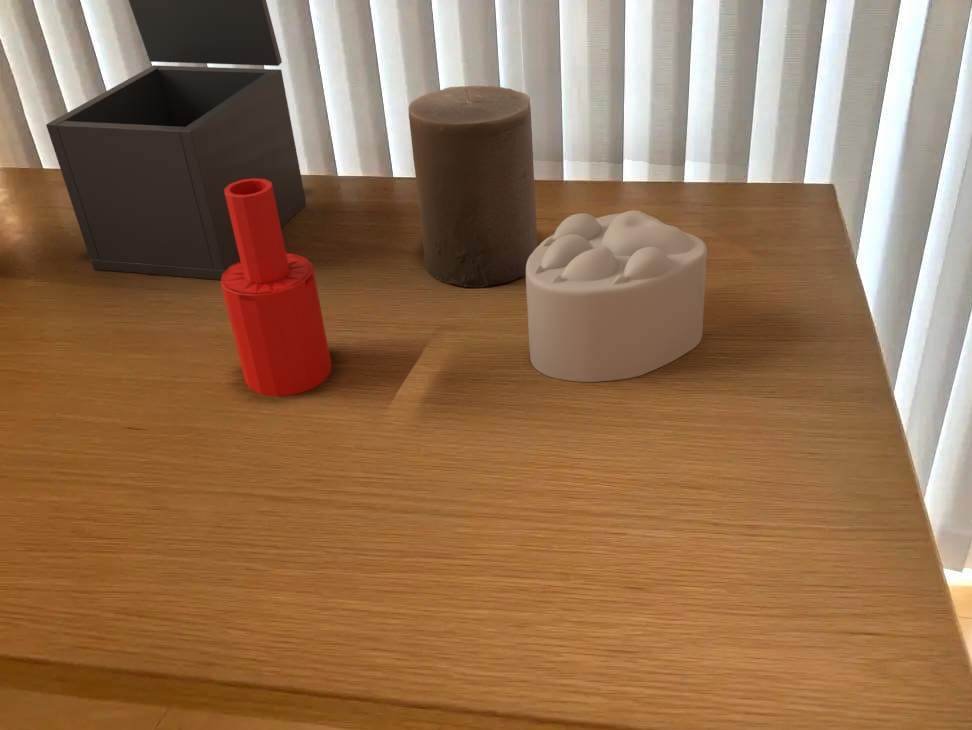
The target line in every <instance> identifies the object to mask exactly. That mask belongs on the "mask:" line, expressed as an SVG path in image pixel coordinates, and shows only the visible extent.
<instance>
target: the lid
mask: <svg viewBox="0 0 972 730" xmlns="http://www.w3.org/2000/svg"><path fill="white" fill-rule="evenodd" d="M128 3H129V6H130V9H131V11H132V15H133V17H134V20H135V23H136V27H137V29H138V32H139V34H140V37H141V40H142V44H143V45H144V49H145V51H146V55H147V57H148V60H149V62H150V63H178V64H180V63H181V64H208V65H209V64H210V65H236V66H237V65H238V66H239V65H241V66H270V67H279V66H280V65H281V64H282V63H283V61H282V60H283V59H282V57H281V53H280V48H279V45H278V41H277V37H276V34H275V29H274V26H273V22H272V17H271V14H270V10H269V6H268V2H267V0H128Z"/></svg>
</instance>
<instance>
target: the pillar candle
mask: <svg viewBox="0 0 972 730" xmlns="http://www.w3.org/2000/svg"><path fill="white" fill-rule="evenodd" d="M408 119H409V129H410V138H411V139H410V140H411V148H412V159H413V165H414V175H415V186H416V192H417V193H416V194H417V203H418V210H419V220H420V230H421V237H422V247H423V254H424V255H423V257H424V264H425V265H426V270H427V271H428V273H429V274H430V275H431V276H432V277H433V278H435V279H436V280H438V281H440V282H442V283H443V282H444V283H446V284H451V285H455V286H460V287H465V288H483V287H489V286H490V287H492V286H497V285H502V284H506V283H509V282H512V281H515V280H517V279H521V278H523V277H524V276H526V264H527V261H528V258H529V256H530V255H531V254H532V253H533V251H534V250H535V249H536V248H537V247H538V246H539V245H538V230H537V209H536V208H537V206H536V205H537V204H536V186H535V170H534V169H535V167H534V148H533V147H534V146H533V129H532V128H533V127H532V107H531V97H530V96H528V94H527V93H525V92H522V91H518V90H514V89H513V88H508V87H507V88H506V87H503V86H493V85H488V86H486V85H467V86H466V85H465V86H462V85H461V86H449V87H445V88H443V89H437V90H435V91H432V92H429V93H424V94H423V95H420V96H419V97H417V98H415V99H413V100H412V101H411V102H410V104H409V105H408Z"/></svg>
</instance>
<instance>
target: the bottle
mask: <svg viewBox="0 0 972 730" xmlns="http://www.w3.org/2000/svg"><path fill="white" fill-rule="evenodd" d="M224 190H225V197H226V201H227V205H228V209H229V214H230V218H231V222H232V227H233V231H234V235H235V239H236V244H237V248H238V252H239V256H240V262H238V263H236V264H234V265H232V266H231V267H229V268H228V269H227V270H226V271H225V272H224V273H223V274H222V279H221V280H220V286H221V290H222V293H223V298H224V302H225V305H226V306H225V307H226V310H227V313H228V314H227V315H228V318H229V322H230V325H231V329H232V330H231V331H232V333H233V334H232V335H233V337H234V342H235V346H236V350H237V354H238V358H239V362H240V365H241V370H242V373H243V379H244V382H245V384H246V386H248V388H249V390H250V391H253V392H255V393H257V394H259V395H261V396H269V397H286V396H295V395H298V394H301V393H303V392H307V391H310V390H313V389H314V388H316V387H317V386H319V385H320V384H322V383H323V382H324V381H326V379H327V378H328V377H329V375H331V372H332V361H331V355H330V350H329V345H328V338H327V333H326V329H325V323H324V318H323V313H322V308H321V307H322V306H321V303H320V297H319V292H318V286H317V280H316V276H315V271H314V266H313V264H312V263H311V262H310V260H308V258H306V257H305V256H304V257H303V256H300V255H298V254H294V253H287V252H286V247H285V242H284V237H283V231H282V228H281V227H280V222H279V217H278V212H277V207H276V202H275V197H274V193H273V188H272V183H271V182H270V181H268V180H265V179H256V178H252V179H245V180H240V181H237V182H234V183H231V184H230V185H228V186H227V187H226V188H225V189H224Z"/></svg>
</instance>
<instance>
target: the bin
mask: <svg viewBox="0 0 972 730" xmlns="http://www.w3.org/2000/svg"><path fill="white" fill-rule="evenodd" d="M286 92H287V91H286V87H285V82H284V77H283V71H282V69H280V68H279V69H278V68H277V69H275V68H274V69H273V68H272V69H271V68H246V67H245V68H243V67H214V66H213V67H212V66H187V65H186V66H183V65H157V64H156V65H154V64H153V65H151V66H150V67H148V68H146V69H144V70H143V71H141V72H138V73H137V74H135V75H133V76H131V77H129V78H127V79H126V80H124V81H122V82H120V83H119V84H117V85H115V86H113V87H111V88H110V89H107V90H106V91H104V92H102V93H100V94H99V95H97V96H95V97H93V98H92V99H90V100H88V101H86V102H84V103H82V104H81V105H79V106H77V107H75V108H73V109H72V110H70V111H68V112H66V113H64V114H63V115H61V116H59V117H57V118H55V119H53V120H51V121H50V122H48V123H46V124H45V126H46V129H47V133H48V135H49V138H50V141H51V145H52V147H53V150H54V153H55V157H56V159H57V163H58V165H59V169H60V172H61V175H62V178H63V181H64V184H65V187H66V190H67V193H68V196H69V200H70V203H71V205H72V208H73V211H74V214H75V217H76V221H77V223H78V227H79V230H80V233H81V236H82V238H83V242H84V245H85V248H86V251H87V254H88V257H89V259H90V263H91V266H92V269H93V270H96V271H108V272H119V273H132V274H144V275H154V276H155V275H157V276H168V277H178V278H192V279H204V280H216V281H221V279H222V274H223V273H224V272H225V271H226V270H227V269H228V268H229V267H231V266H232V265H234V264H236V263H238V262H240V256H239V252H238V248H237V244H236V239H235V235H234V231H233V227H232V222H231V218H230V214H229V209H228V205H227V201H226V197H225V190H224V189H225V188H226V187H227V186H228V185H230V184H231V183H234V182H237V181H240V180H245V179H252V178H256V179H265V180H268V181H270V182H271V183H272V188H273V193H274V197H275V202H276V207H277V212H278V217H279V222H280V227H281V229H283V227H285V225H286V224H287V223H289V221H291V219H292V218H294V217H295V215H297V214H298V213H299V212H300V211H301V210H302V209H303V208H304V207H305V206H306V205H307V202H306V197H305V190H304V183H303V179H302V174H301V168H300V163H299V157H298V153H297V147H296V141H295V136H294V131H293V125H292V120H291V114H290V108H289V104H288V98H287V93H286Z"/></svg>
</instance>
